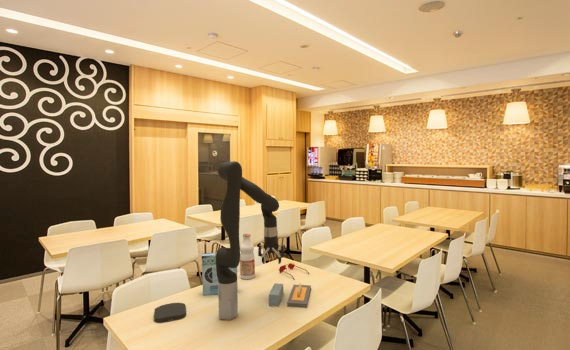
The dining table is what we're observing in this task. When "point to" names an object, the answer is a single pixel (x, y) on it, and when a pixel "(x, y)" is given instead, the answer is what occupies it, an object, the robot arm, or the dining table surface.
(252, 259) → the fruit juice
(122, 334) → the dining table surface
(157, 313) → the media streaming box
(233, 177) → the robot arm
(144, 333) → the dining table surface
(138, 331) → the dining table surface
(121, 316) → the dining table surface
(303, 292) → the board
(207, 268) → the blue flat upright box
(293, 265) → the glasses
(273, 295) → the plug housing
